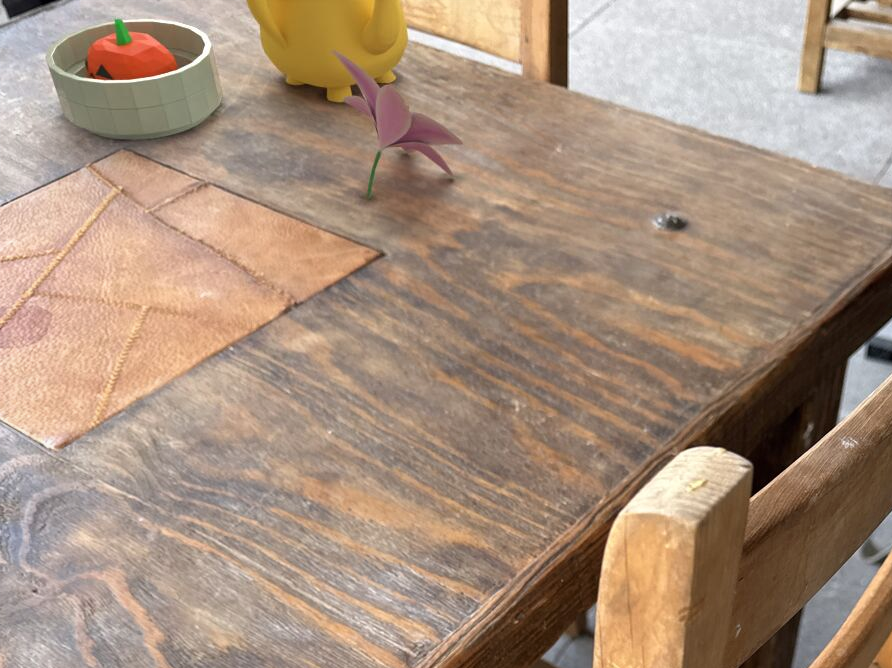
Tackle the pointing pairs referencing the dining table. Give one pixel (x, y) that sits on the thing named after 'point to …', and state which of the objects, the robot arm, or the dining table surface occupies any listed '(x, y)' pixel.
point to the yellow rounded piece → (331, 39)
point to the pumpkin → (128, 56)
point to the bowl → (137, 83)
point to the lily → (396, 120)
